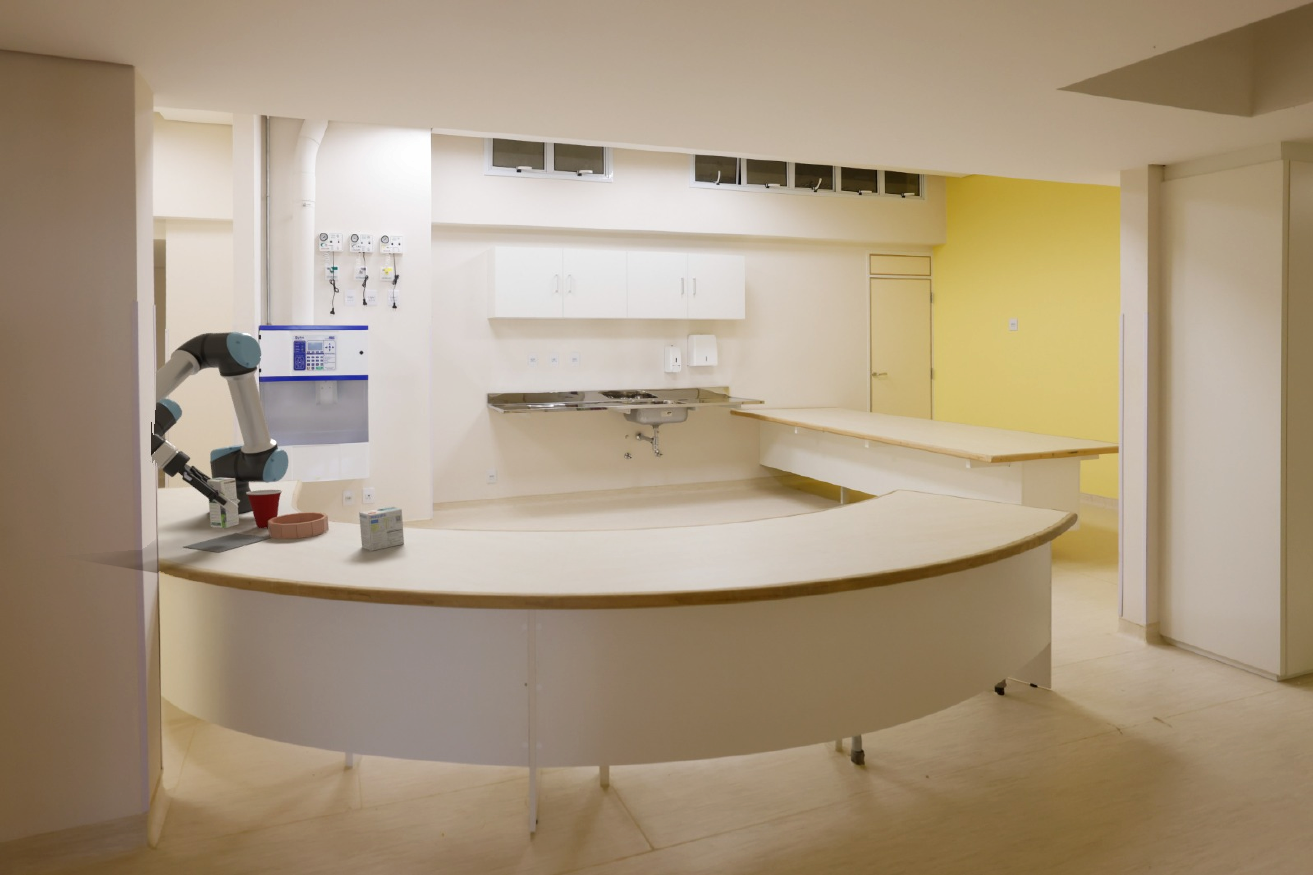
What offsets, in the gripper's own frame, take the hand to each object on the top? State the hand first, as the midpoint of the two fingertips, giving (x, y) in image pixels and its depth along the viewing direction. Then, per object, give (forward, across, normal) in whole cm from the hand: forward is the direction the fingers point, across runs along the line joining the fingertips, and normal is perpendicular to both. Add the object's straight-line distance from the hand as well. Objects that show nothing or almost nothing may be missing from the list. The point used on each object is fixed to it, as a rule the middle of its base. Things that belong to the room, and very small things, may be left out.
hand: (236, 507), depth 262 cm
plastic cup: (+13, -19, -3) cm, 23 cm away
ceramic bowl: (+20, -4, +4) cm, 21 cm away
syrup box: (+2, 0, -6) cm, 7 cm away
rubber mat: (+5, 0, -10) cm, 11 cm away
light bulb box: (+36, +26, +20) cm, 49 cm away
